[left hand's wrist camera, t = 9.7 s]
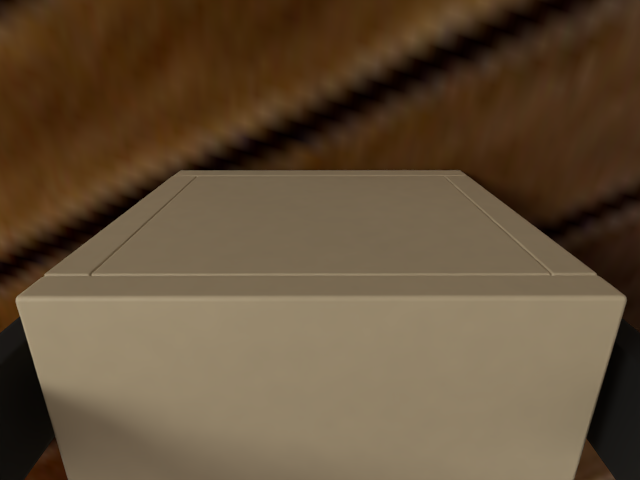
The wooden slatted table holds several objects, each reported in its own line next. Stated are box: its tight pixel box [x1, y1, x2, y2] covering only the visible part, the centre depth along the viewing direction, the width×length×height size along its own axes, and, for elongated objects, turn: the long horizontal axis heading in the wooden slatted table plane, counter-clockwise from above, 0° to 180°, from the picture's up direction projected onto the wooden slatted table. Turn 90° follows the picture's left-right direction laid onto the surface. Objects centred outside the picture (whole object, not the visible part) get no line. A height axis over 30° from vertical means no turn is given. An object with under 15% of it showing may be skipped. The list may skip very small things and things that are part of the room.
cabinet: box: [16, 170, 627, 480], centre depth 16 cm, size 17×11×10 cm, turn 0°
